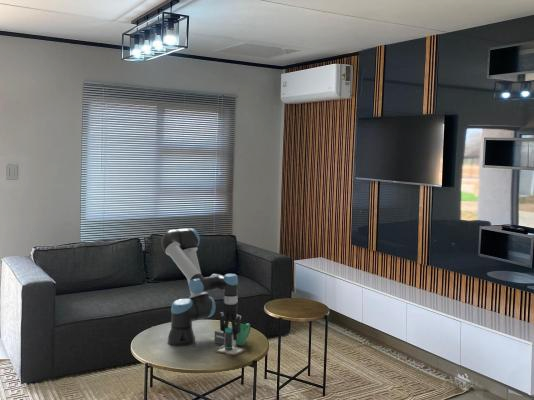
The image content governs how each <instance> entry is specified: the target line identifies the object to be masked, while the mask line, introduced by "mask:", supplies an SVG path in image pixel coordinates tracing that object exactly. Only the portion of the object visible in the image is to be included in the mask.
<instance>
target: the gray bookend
mask: <svg viewBox="0 0 534 400" xmlns="http://www.w3.org/2000/svg"><path fill="white" fill-rule="evenodd" d="M212 343H216V344H219V345H225V338H224V337H223V331H217V330H215V331H214V340H213V342H212Z"/></svg>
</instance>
